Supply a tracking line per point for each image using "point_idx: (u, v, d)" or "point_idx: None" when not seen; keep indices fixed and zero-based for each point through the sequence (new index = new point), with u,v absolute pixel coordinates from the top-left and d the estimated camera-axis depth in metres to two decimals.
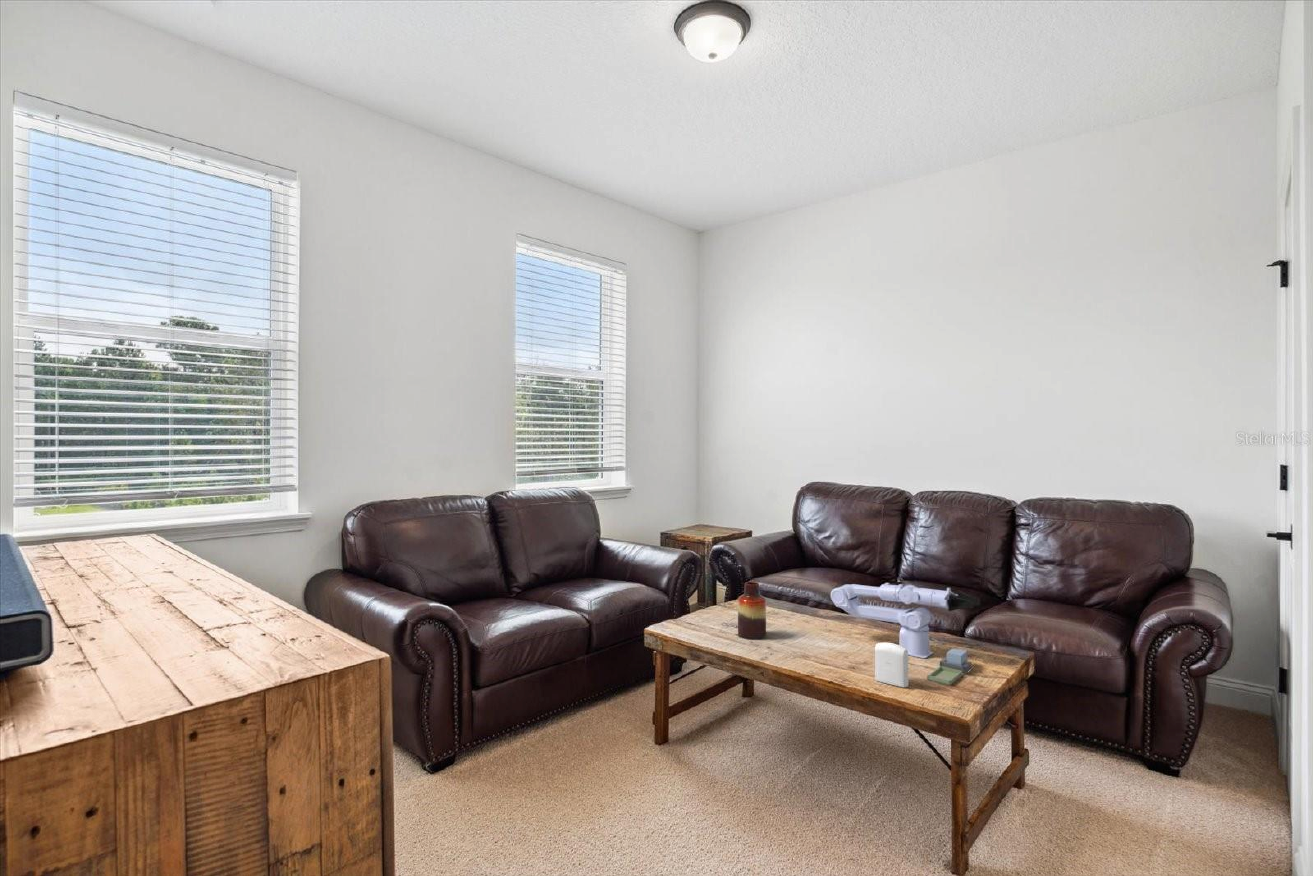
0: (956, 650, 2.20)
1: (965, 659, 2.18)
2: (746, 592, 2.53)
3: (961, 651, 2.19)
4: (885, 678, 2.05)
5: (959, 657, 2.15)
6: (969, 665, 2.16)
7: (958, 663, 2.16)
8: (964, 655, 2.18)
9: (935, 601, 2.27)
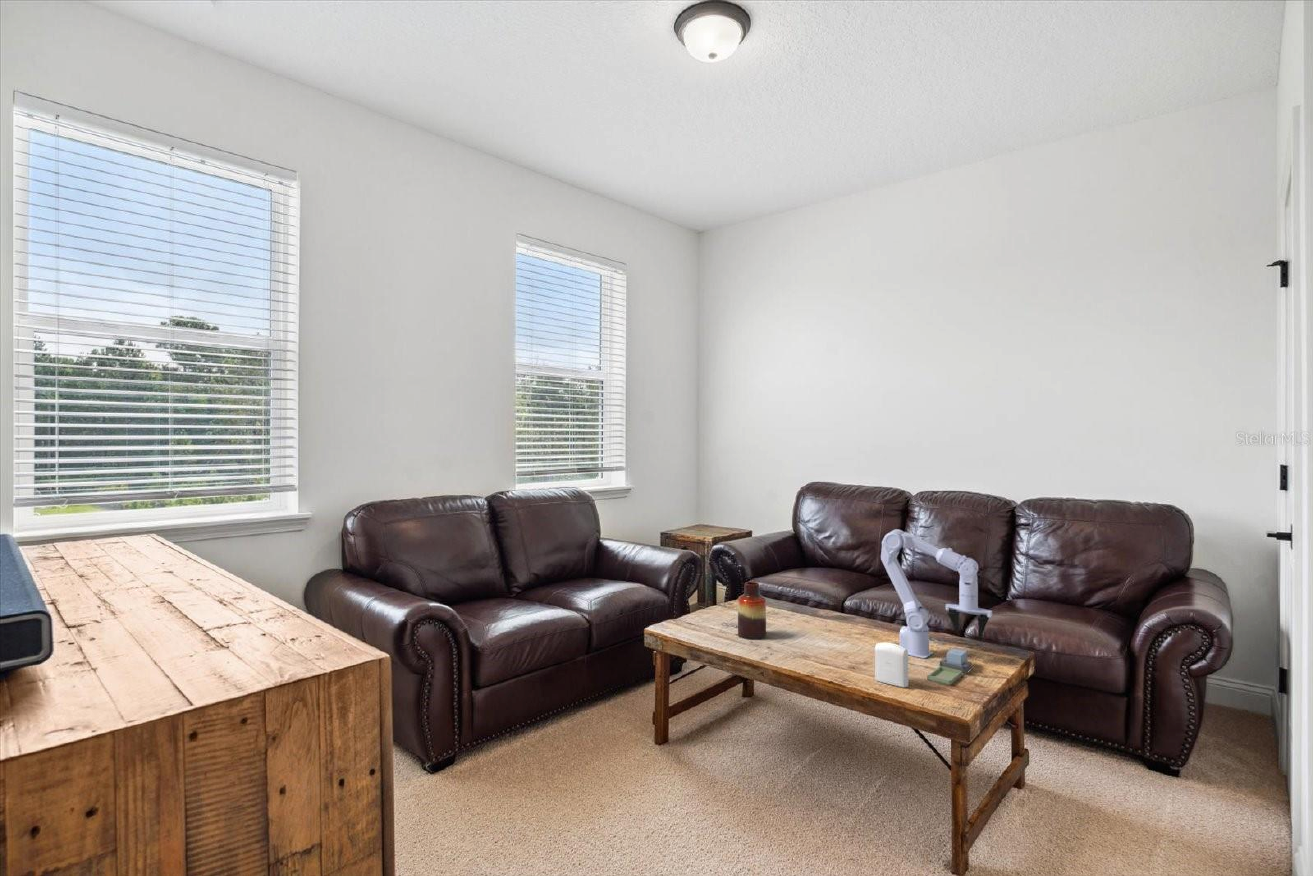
0: (956, 650, 2.20)
1: (965, 659, 2.18)
2: (746, 592, 2.53)
3: (961, 651, 2.19)
4: (885, 678, 2.05)
5: (959, 657, 2.15)
6: (969, 665, 2.16)
7: (958, 663, 2.16)
8: (964, 655, 2.18)
9: (976, 600, 2.22)
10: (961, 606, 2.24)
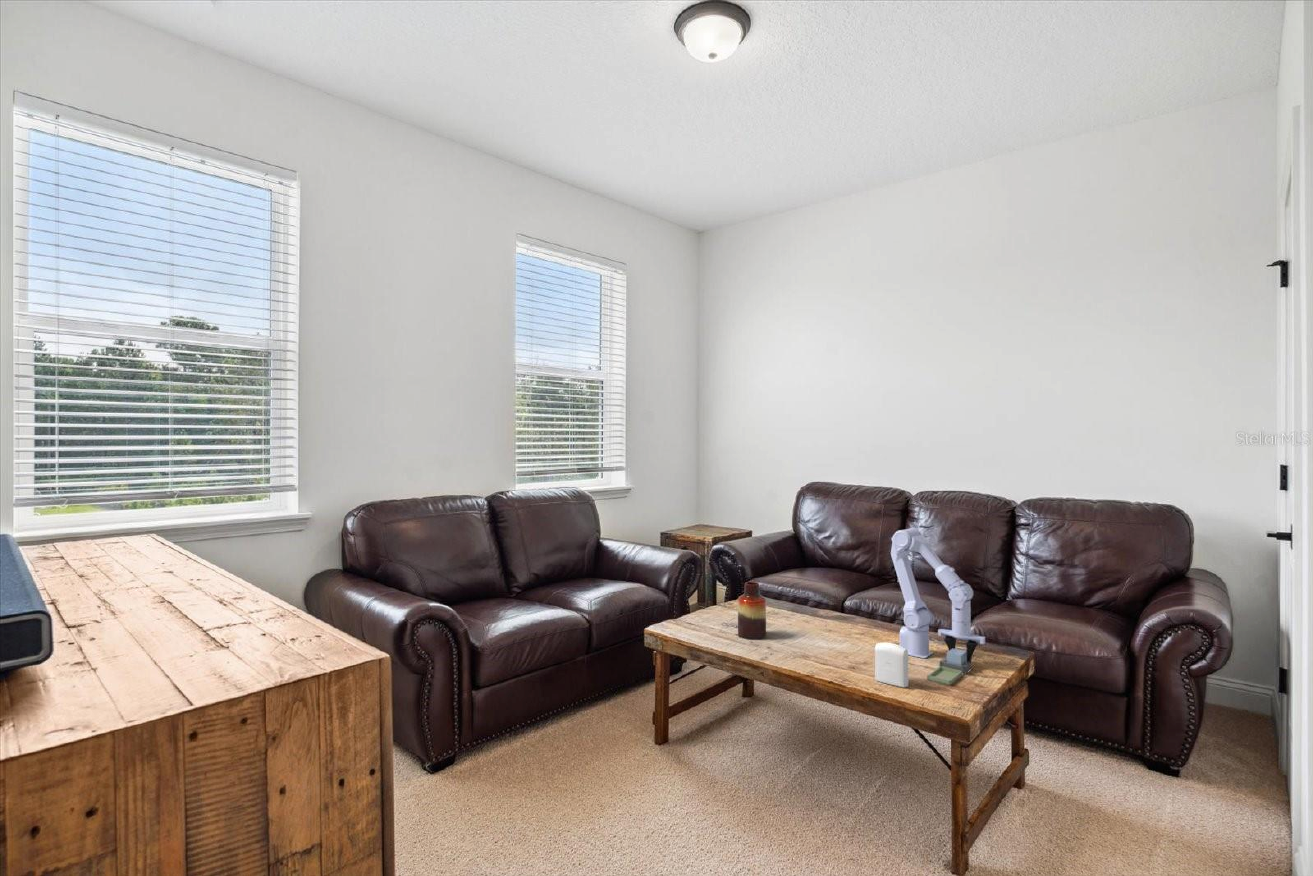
0: (956, 650, 2.20)
1: (965, 659, 2.18)
2: (746, 592, 2.53)
3: (961, 651, 2.19)
4: (885, 678, 2.05)
5: (959, 657, 2.15)
6: (969, 665, 2.16)
7: (958, 663, 2.16)
8: (964, 655, 2.18)
9: (969, 626, 2.20)
10: (954, 632, 2.21)
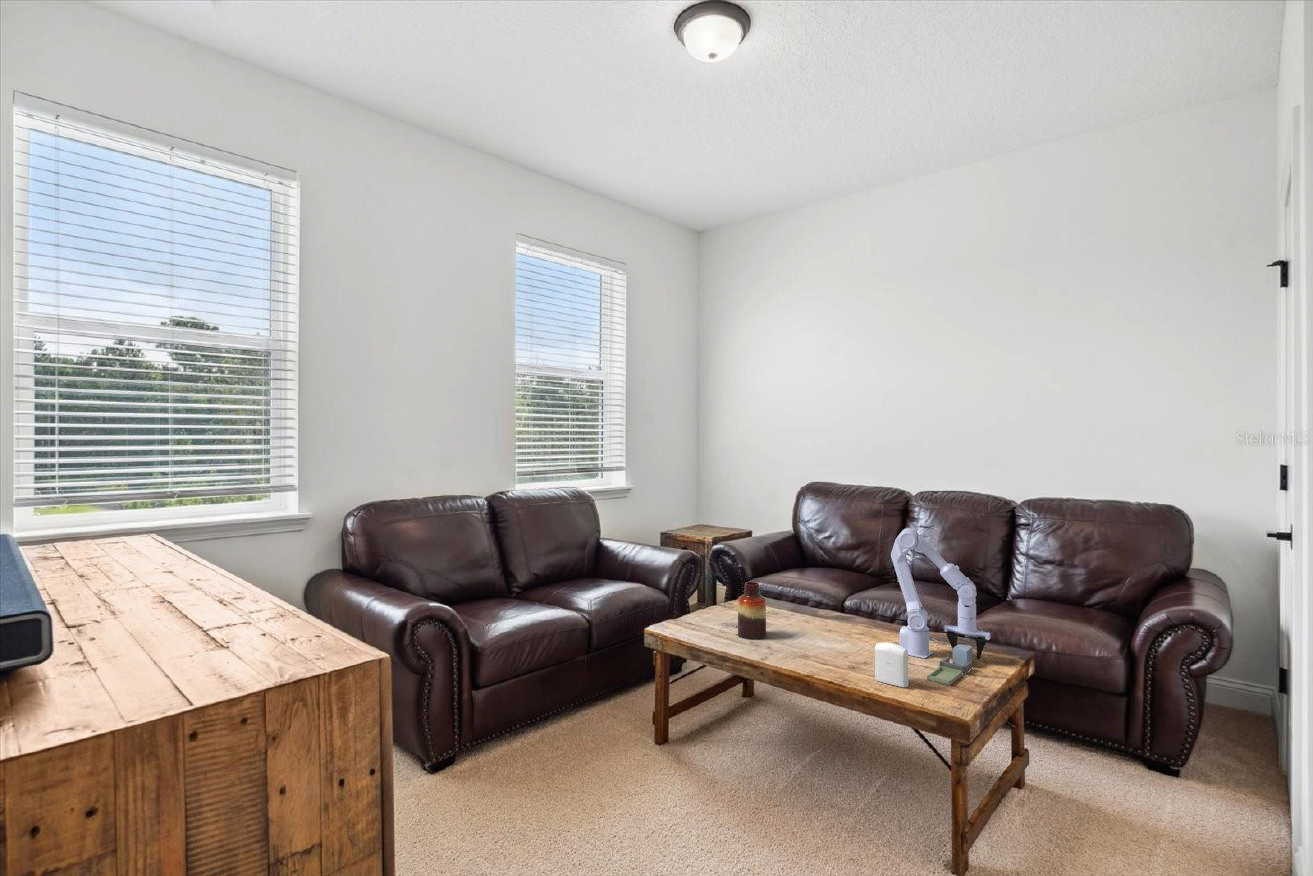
0: (962, 646, 2.25)
1: (971, 655, 2.23)
2: (746, 592, 2.53)
3: (967, 647, 2.24)
4: (885, 678, 2.05)
5: (965, 653, 2.20)
6: (969, 665, 2.16)
7: (964, 658, 2.20)
8: (970, 650, 2.22)
9: (974, 622, 2.24)
10: (959, 628, 2.26)
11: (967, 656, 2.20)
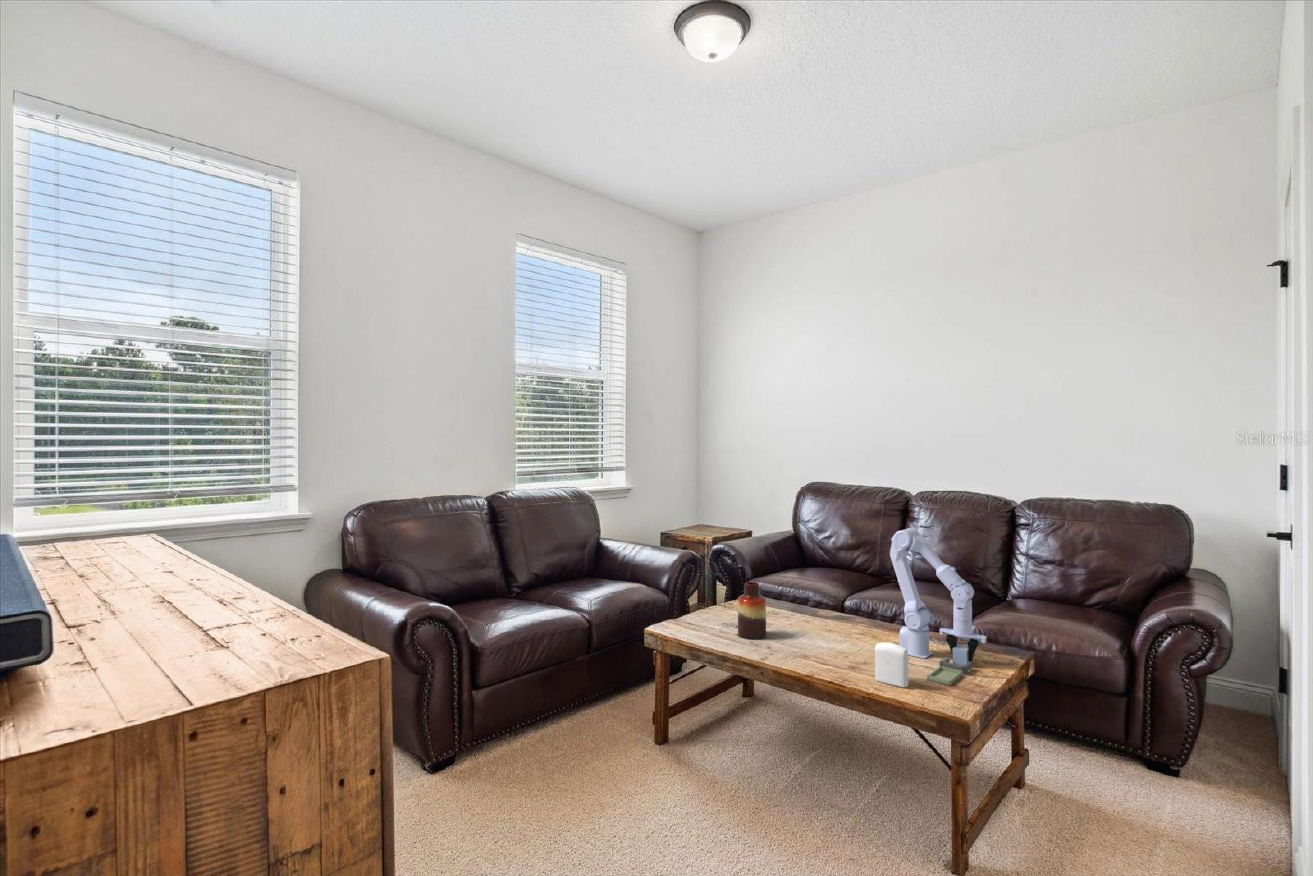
0: (962, 646, 2.25)
1: None
2: (746, 592, 2.53)
3: (967, 647, 2.24)
4: (885, 678, 2.05)
5: (965, 652, 2.20)
6: (969, 665, 2.16)
7: (964, 658, 2.20)
8: None
9: (970, 625, 2.21)
10: (955, 631, 2.23)
11: (967, 656, 2.20)
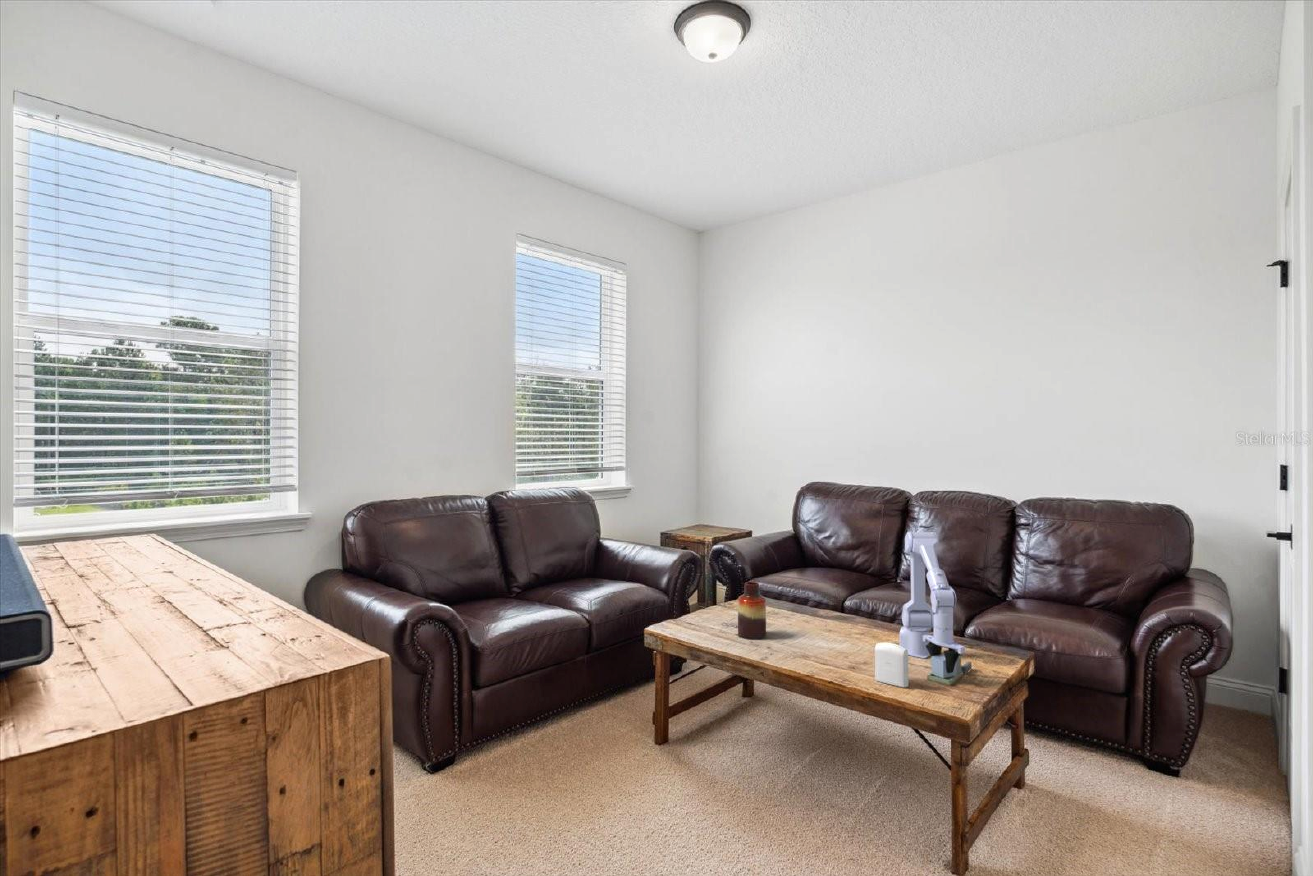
0: None
1: None
2: (746, 592, 2.53)
3: None
4: (885, 678, 2.05)
5: (941, 662, 2.06)
6: (969, 665, 2.16)
7: (941, 668, 2.07)
8: None
9: (949, 633, 2.06)
10: (934, 638, 2.09)
11: (945, 666, 2.06)
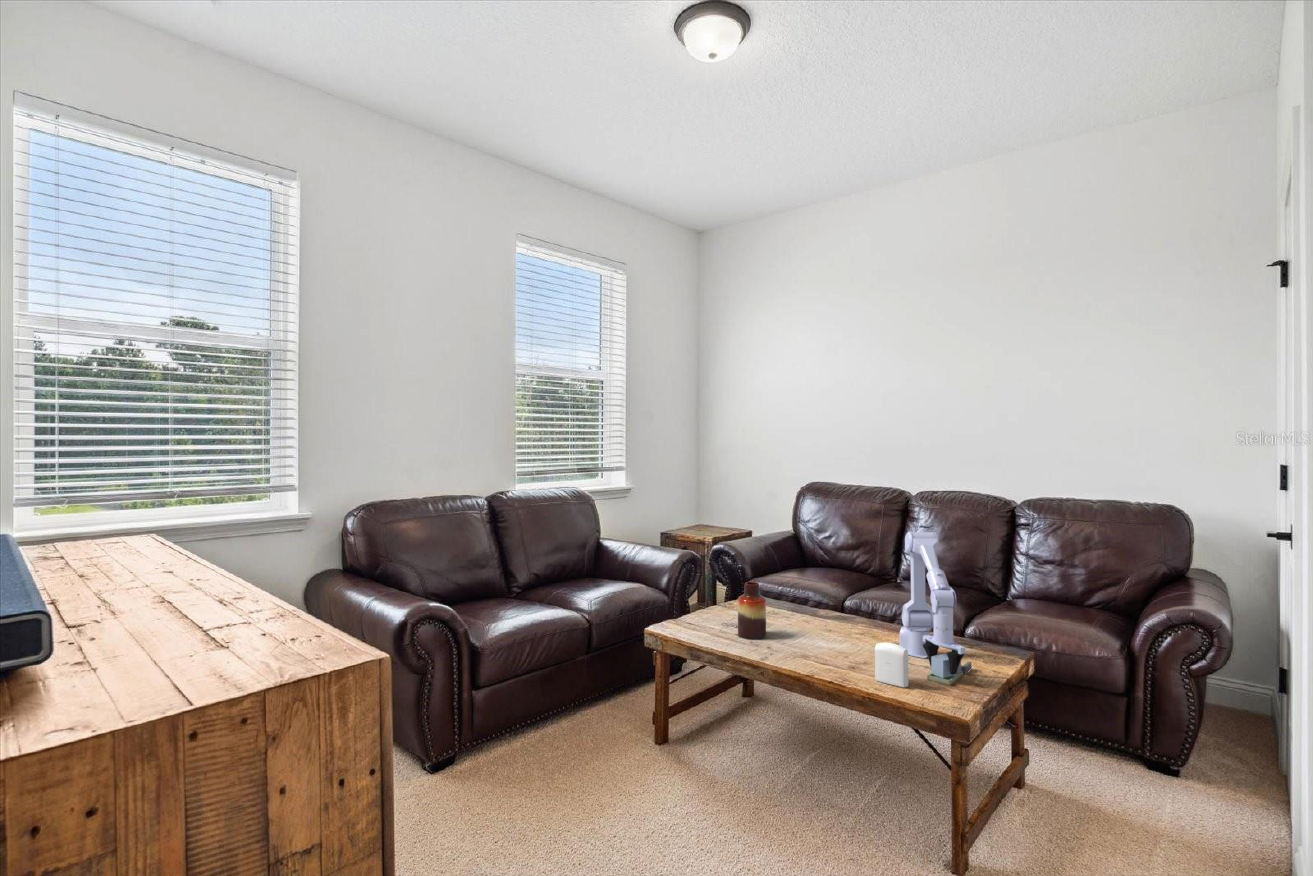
0: (945, 655, 2.10)
1: None
2: (746, 592, 2.53)
3: None
4: (885, 678, 2.05)
5: (941, 662, 2.06)
6: (969, 665, 2.16)
7: (941, 668, 2.07)
8: None
9: (949, 633, 2.06)
10: (934, 639, 2.09)
11: (945, 666, 2.06)
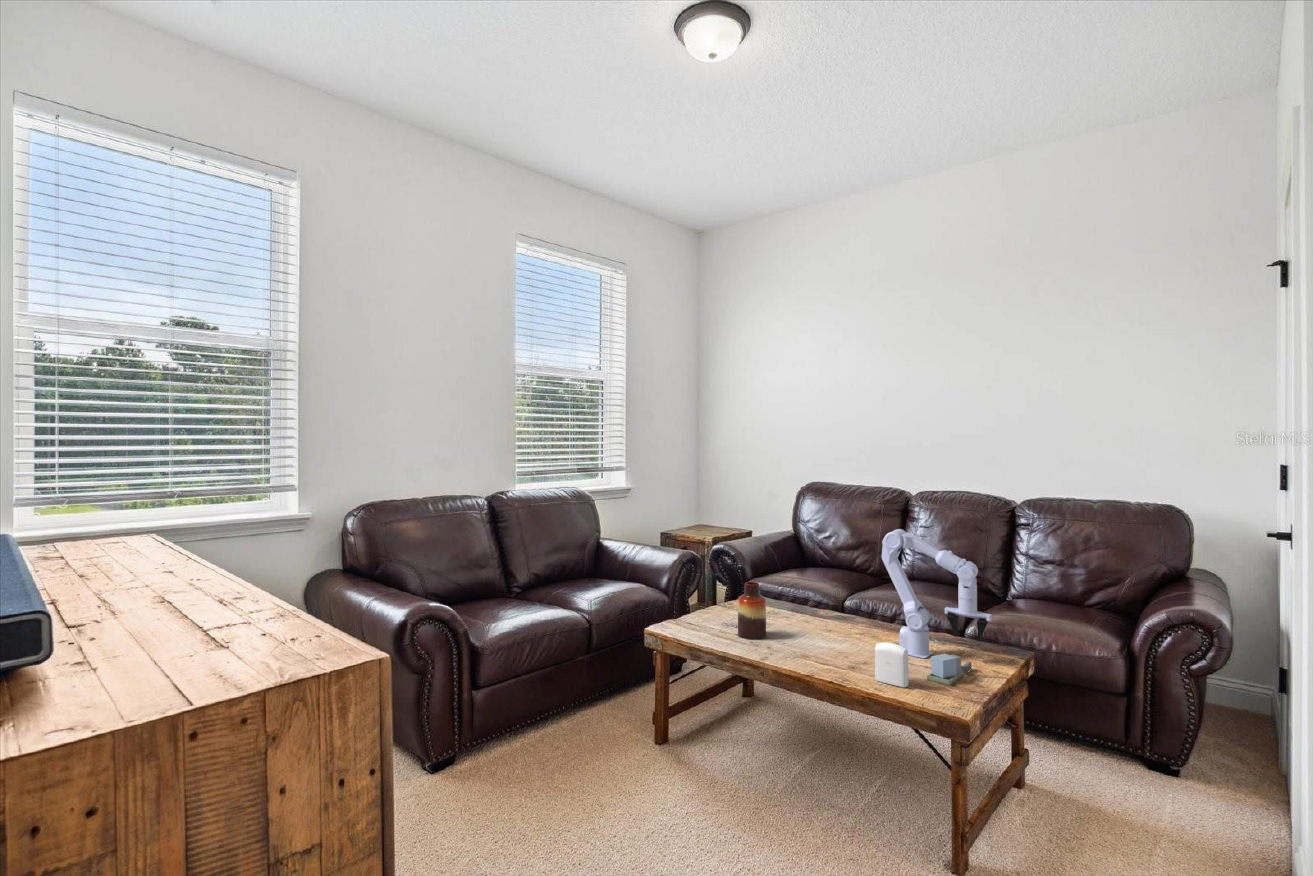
0: (945, 655, 2.10)
1: (953, 666, 2.08)
2: (746, 592, 2.53)
3: (949, 657, 2.09)
4: (885, 678, 2.05)
5: (941, 662, 2.06)
6: (969, 665, 2.16)
7: (941, 668, 2.07)
8: (951, 661, 2.08)
9: (975, 603, 2.22)
10: (960, 610, 2.23)
11: (945, 666, 2.06)
